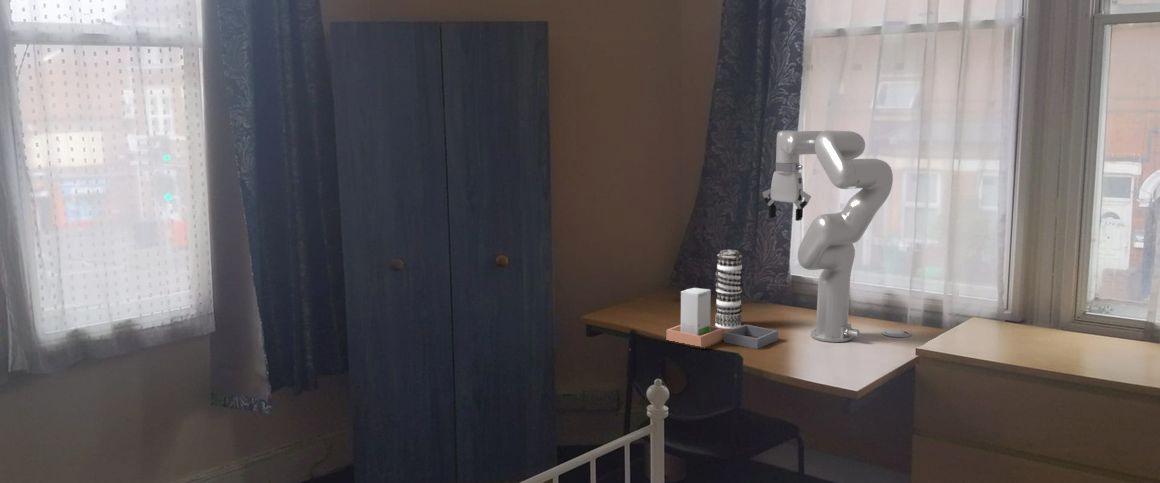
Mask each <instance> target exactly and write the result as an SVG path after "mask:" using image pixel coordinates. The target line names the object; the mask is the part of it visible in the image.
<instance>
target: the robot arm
mask: <svg viewBox="0 0 1160 483" xmlns="http://www.w3.org/2000/svg"><path fill="white" fill-rule="evenodd" d="M865 149H866V142H865V139H864V137H863V136H862V135H861V134H859V133H857V132H855V131H851V130H829V129H828V130H801V131H800V130H799V131H797V130H780V131H778V132H777V135H776V152H775V153H776V154H775V157H776V158H775V171H774V172H773V173H772V174H773V175H772V179H771V183H770V184H771V185H770V188H768V189H767V190H764V191H762V197H763V198H764V201H765V202H766V204H767V206H768V215H769V216H768V218H770V219H772V218H776V214H777V210H776V209H777V206H776V203H777V202H781V203H794V205H795V206H796V209H795V221H797V222H799V221H802V219H803V217H804V216H803V214H804V209H805V207H806V206H807V205H808V204H809V202H810V200H811V198H812V196H811V195H810V194H809V193H807V192H806V191H804V185H803V184H804V181H803V175H802V172H800V170H803V165H801V164H800V156H801V155H803V156H804V155H816V158H817V159H818V161H819V163H820V165H821V166H822V168H823V170H824V171H825V173H826V175H827V178H828V179H829V180H830V182H831V183H832V184H833V186H834V187H836V188H837V189H841V190H853V189H860V190H859V191H857V192H856V193H855V194H854V195H852V196H851V198H849V200H848V201H847V203H846V205H845V207H844V208H843V210H842V211H839V212H835V213H823V214H821V215H818V216H816V217H815V218H814V219H813V220H812V221H811V224H810V225H809V227H808V229H807V230H806V232H805V234H804V235H803V238H802V239H801V242H800V244H799V246H798V250H797V260H798V263H799V265H800V266H801V268H803V269H805V270H808V271H816V270H819V271H820V270H822V271H821V273H820V276H819V277H818V282H817V296H816V298H817V303H816V322H815V323H816V325H815V326H816V327H815V329H813V330H811V332H810V336H811V338H813V339H814V340H818V341H822V342H827V343H843V342H849V341H852V340H853V337H855V338H859V337H860V333H861V332H860V329H856V328H852V323H849V312H850V311H849V309H850V308H849V307H850V293H851V292H850V289H851V287H850V286H851V276H852V269H853V264H854V261H855V257H856V249H855V245H854V244H856V243H858V242H859V240H861V238H862V236H863V235H864V234H865V232H866V230H867V228H868V227H869V226H870V224H871V222H872V220H873V219H874V218H875V217H874V216H876V214H877V212H878V211H879V210H880V209H881V207H882V206H883V205H884V203H885V202H886V201H887V199H888V198H889V196H890V194H891V190H892V188H893V182H894V180H893V179H894V176H893V174H894V173H893V171H892V168H891V166H890V164H889V163H887V162H886V161H884V160H882V159H877V158H858V157H860V156H861V155H862V154H863V153H864V151H865ZM769 195H770V196H769ZM803 199H804V200H803Z"/></svg>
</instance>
